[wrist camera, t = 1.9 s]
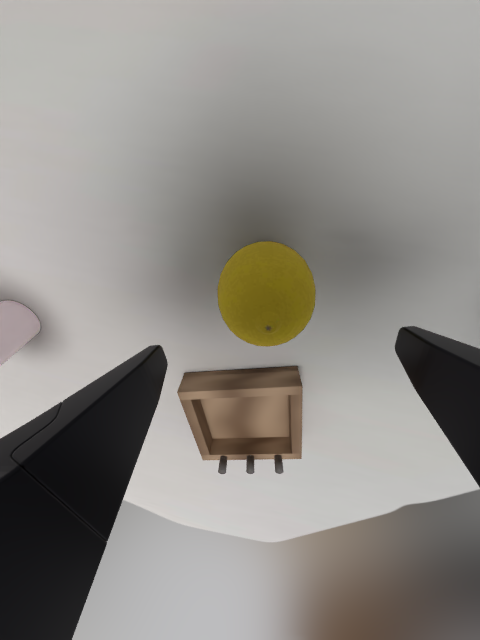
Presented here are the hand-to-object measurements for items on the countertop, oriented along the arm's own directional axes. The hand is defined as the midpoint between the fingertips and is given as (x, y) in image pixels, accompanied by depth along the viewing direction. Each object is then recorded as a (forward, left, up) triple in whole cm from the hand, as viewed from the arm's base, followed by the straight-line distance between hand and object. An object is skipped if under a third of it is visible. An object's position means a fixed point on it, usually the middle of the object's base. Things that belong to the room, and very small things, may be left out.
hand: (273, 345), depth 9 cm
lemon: (0, 0, -10) cm, 10 cm away
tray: (+3, +15, -9) cm, 18 cm away
